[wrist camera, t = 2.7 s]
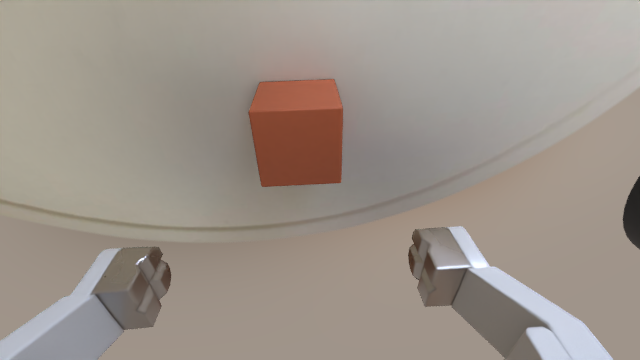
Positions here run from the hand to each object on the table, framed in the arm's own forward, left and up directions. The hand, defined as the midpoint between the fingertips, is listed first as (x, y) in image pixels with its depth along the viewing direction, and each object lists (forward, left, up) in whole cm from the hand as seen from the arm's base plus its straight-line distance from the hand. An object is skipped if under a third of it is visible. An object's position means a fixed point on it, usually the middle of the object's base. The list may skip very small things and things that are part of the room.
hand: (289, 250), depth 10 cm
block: (0, 0, -11) cm, 11 cm away
